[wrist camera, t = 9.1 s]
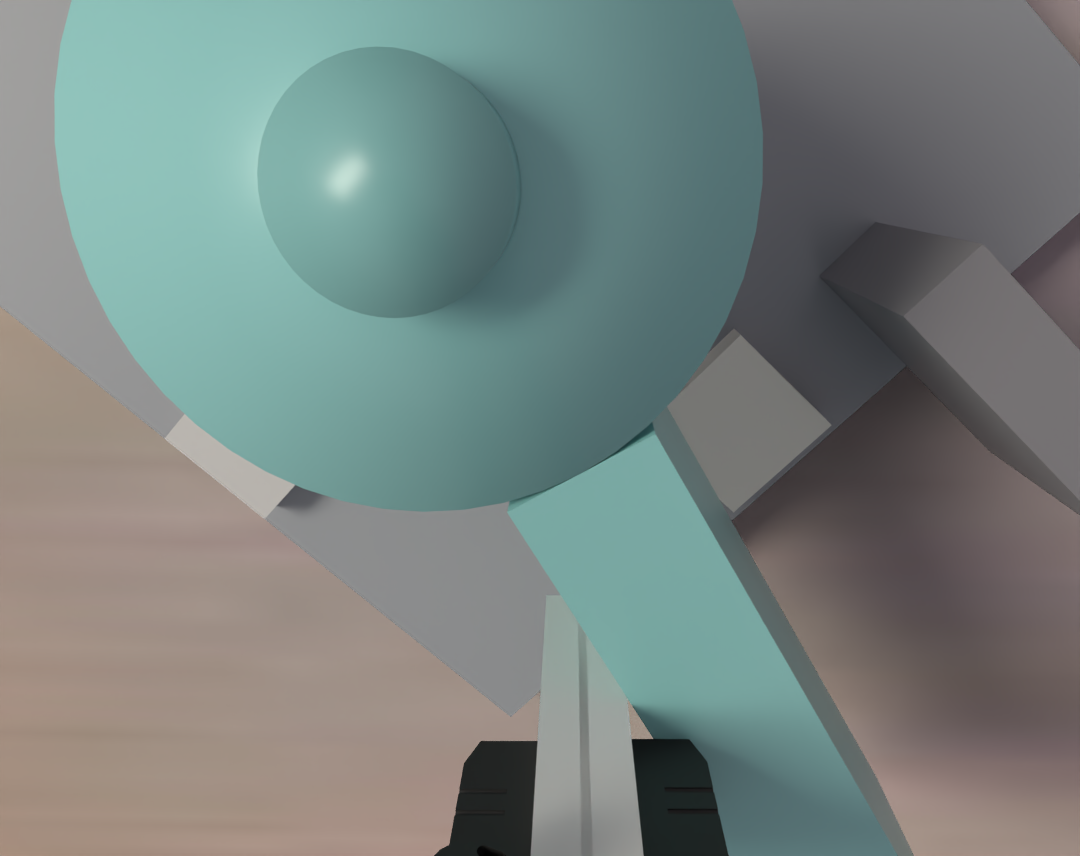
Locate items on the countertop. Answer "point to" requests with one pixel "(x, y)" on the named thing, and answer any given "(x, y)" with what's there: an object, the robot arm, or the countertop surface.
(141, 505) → the countertop surface
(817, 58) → the post board
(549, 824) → the robot arm
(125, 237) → the domed saucepan
